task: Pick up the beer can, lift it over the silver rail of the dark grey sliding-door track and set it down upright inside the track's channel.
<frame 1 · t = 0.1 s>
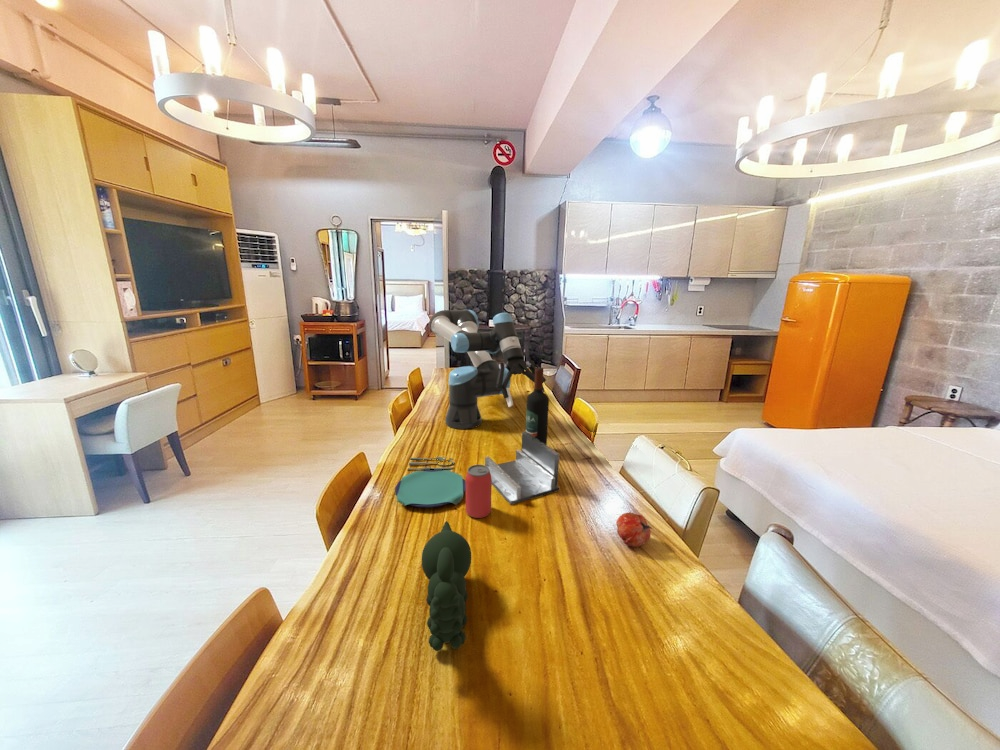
hand: (527, 403, 134), 15 cm above the table, tool tilted 35°, fingers open, 13 cm apart
door track: (517, 480, 111), on the table
beer can: (478, 512, 96), on the table
toy figurine: (447, 608, 68), on the table
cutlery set: (432, 483, 110), on the table
pomegranate: (630, 542, 86), on the table
wine bottle: (535, 451, 131), on the table
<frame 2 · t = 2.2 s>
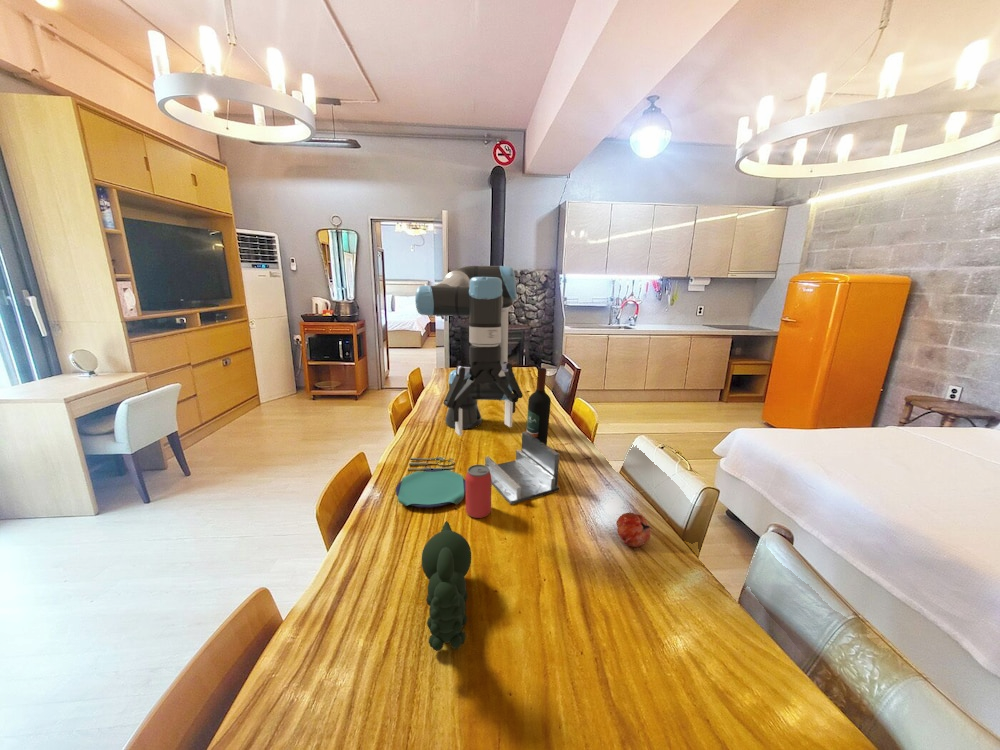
hand: (484, 429, 92), 22 cm above the table, tool pointing down, fingers open, 13 cm apart
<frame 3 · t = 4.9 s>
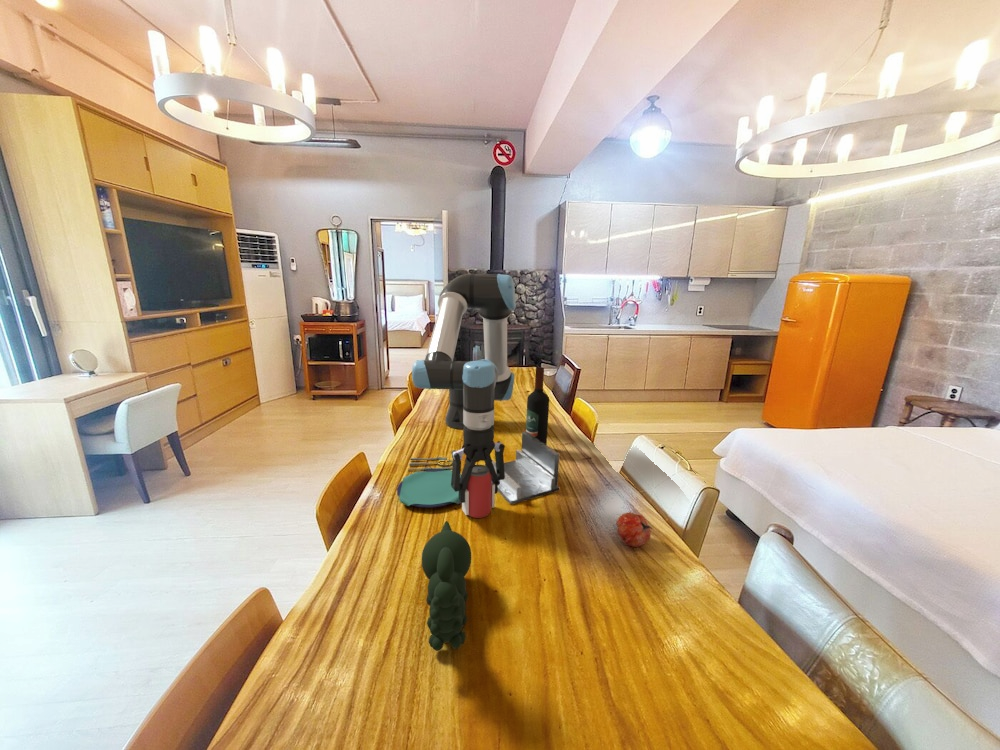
hand: (478, 508, 96), 1 cm above the table, tool pointing down, fingers closed on beer can, 7 cm apart
beer can: (478, 512, 96), on the table, touching gripper
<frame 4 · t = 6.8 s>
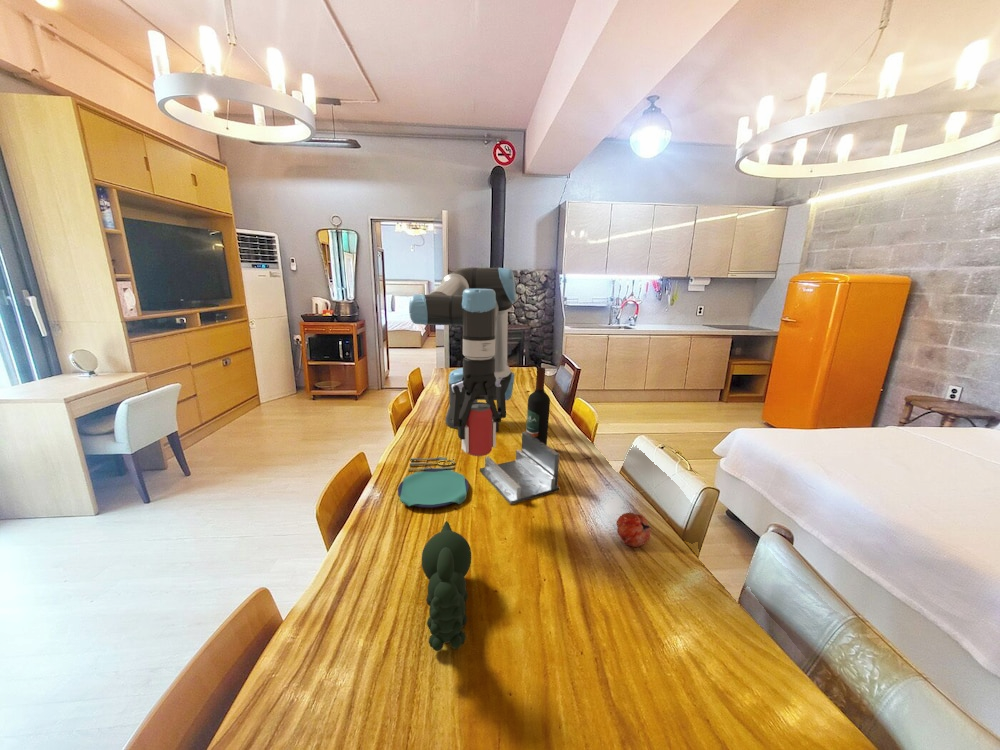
hand: (478, 447, 92), 18 cm above the table, tool pointing down, fingers closed on beer can, 7 cm apart
beer can: (478, 452, 92), point 17 cm above the table, touching gripper
everything else where it was.
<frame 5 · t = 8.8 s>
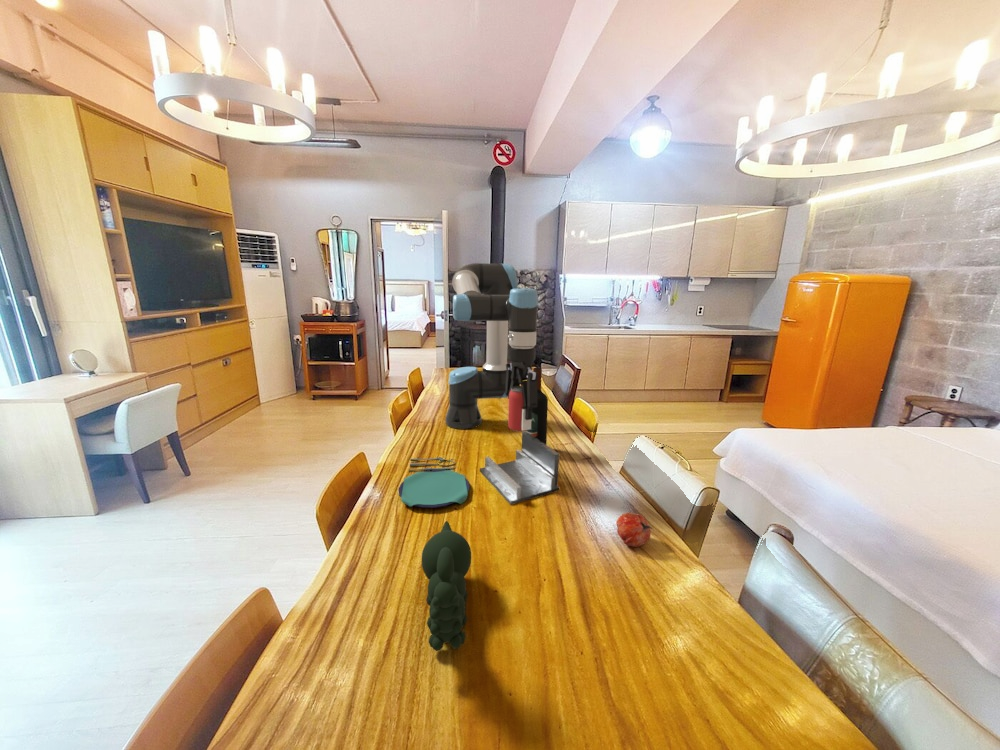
hand: (519, 424, 107), 18 cm above the table, tool pointing down, fingers closed on beer can, 7 cm apart
beer can: (519, 428, 107), point 17 cm above the table, touching gripper
when the fingers open (3 cm above the table, at t = 11.6 s): beer can drops 1 cm, resting on door track.
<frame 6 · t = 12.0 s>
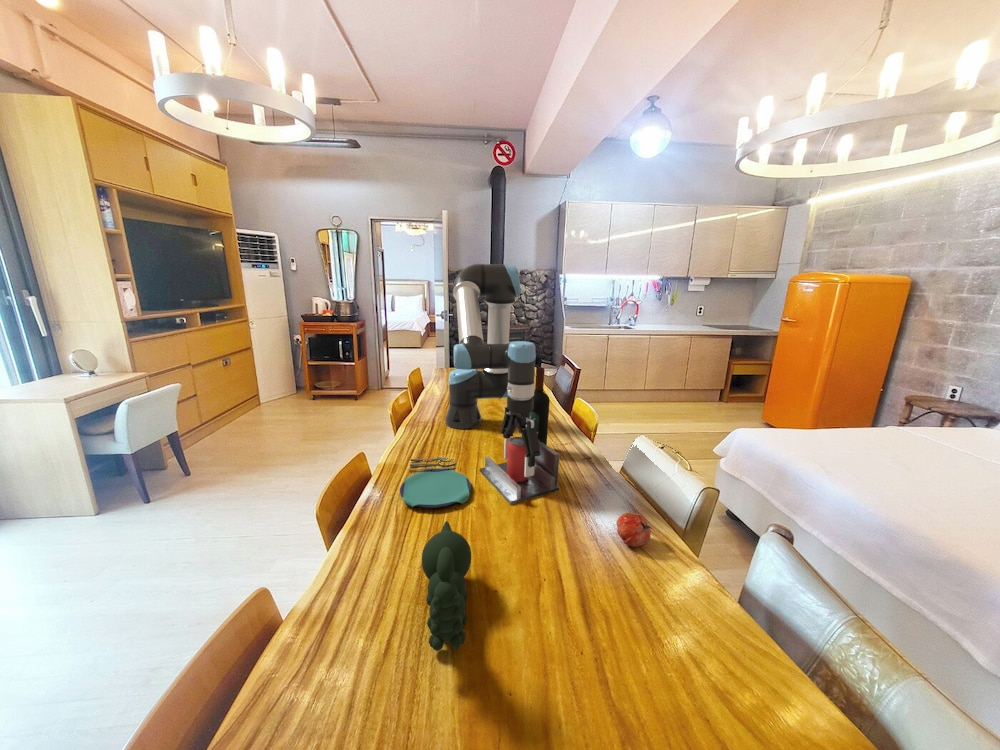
hand: (518, 466, 110), 5 cm above the table, tool pointing down, fingers open, 11 cm apart
beer can: (517, 478, 111), point 1 cm above the table, touching door track
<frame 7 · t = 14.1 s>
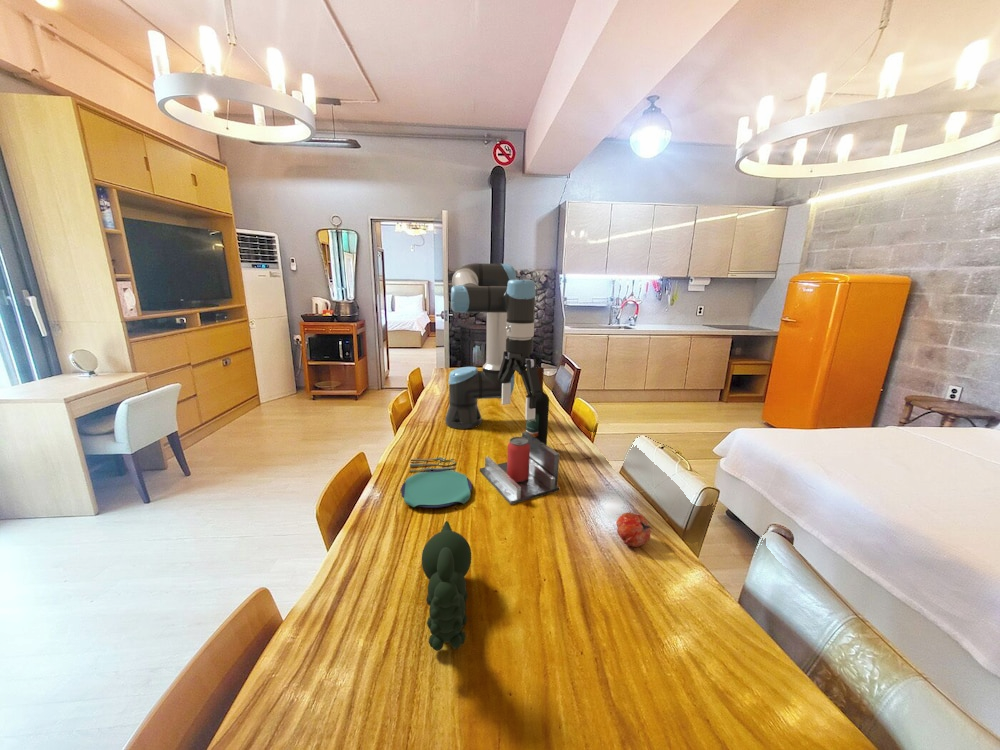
hand: (517, 411, 106), 22 cm above the table, tool pointing down, fingers open, 13 cm apart
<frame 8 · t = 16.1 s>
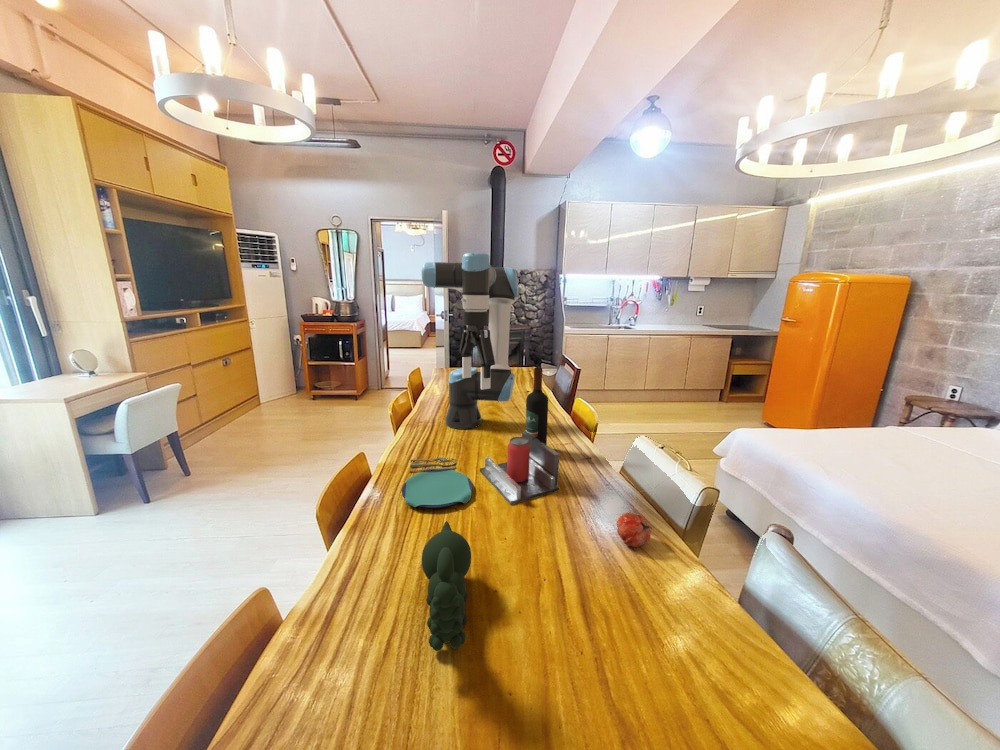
hand: (475, 382, 110), 29 cm above the table, tool pointing down, fingers open, 13 cm apart
at the end: beer can inside the target area on the door track (0.0 cm from its centre), point 0.8 cm above the door track's base; beer can tilted 0°; the gripper is holding nothing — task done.
